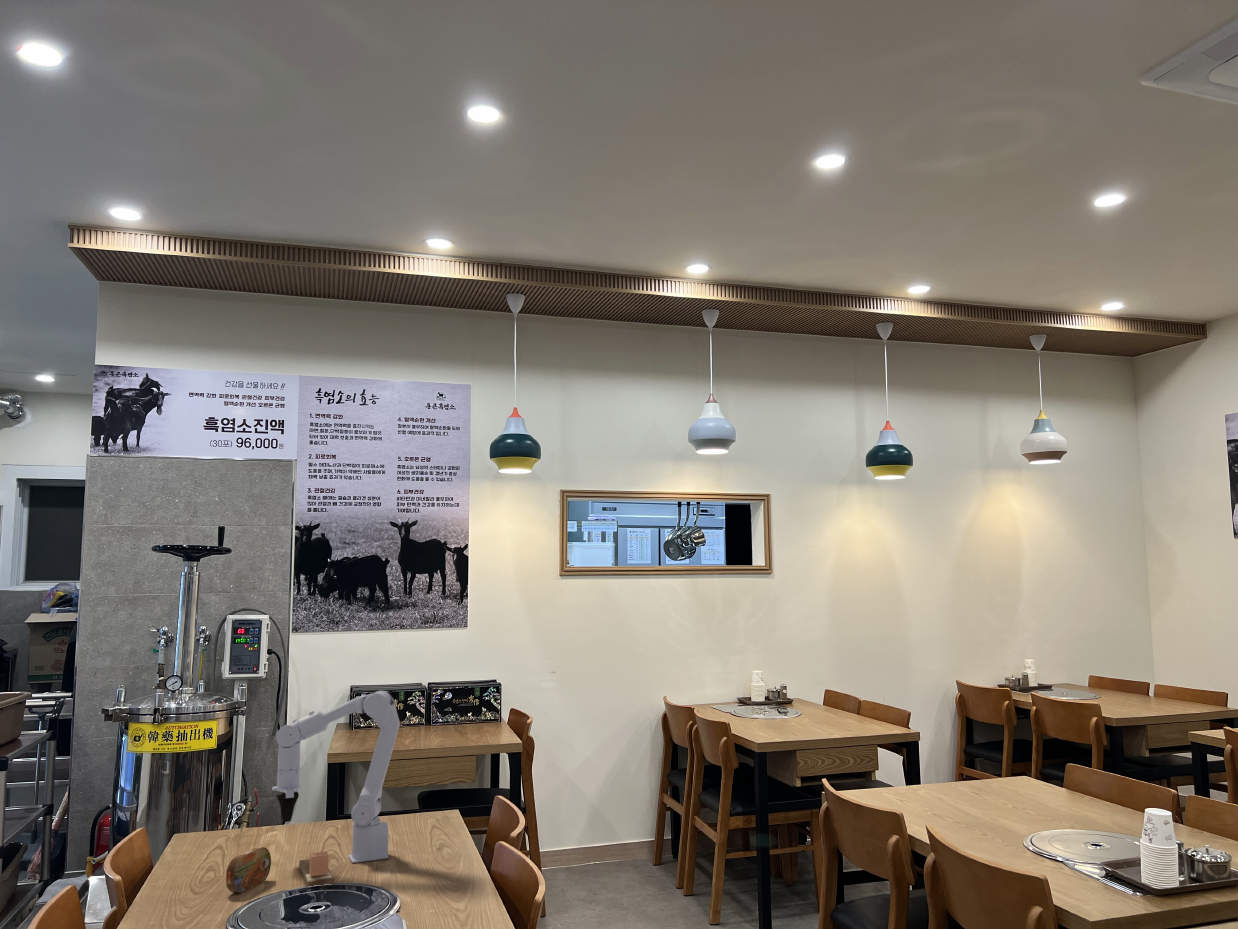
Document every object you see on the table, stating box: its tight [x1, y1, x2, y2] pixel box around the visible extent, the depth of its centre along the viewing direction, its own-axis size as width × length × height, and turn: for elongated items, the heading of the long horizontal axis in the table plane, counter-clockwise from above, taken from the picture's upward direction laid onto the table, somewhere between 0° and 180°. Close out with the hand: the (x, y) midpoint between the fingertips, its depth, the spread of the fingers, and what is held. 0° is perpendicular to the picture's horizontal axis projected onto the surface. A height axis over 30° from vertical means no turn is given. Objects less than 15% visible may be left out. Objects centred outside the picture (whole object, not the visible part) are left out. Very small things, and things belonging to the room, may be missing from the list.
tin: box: [225, 846, 272, 894], centre depth 211 cm, size 15×3×8 cm, turn 168°
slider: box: [309, 851, 329, 877], centre depth 214 cm, size 4×4×4 cm
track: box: [298, 858, 334, 888], centre depth 219 cm, size 6×22×2 cm, turn 25°
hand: (286, 821), depth 234 cm, fingers closed
